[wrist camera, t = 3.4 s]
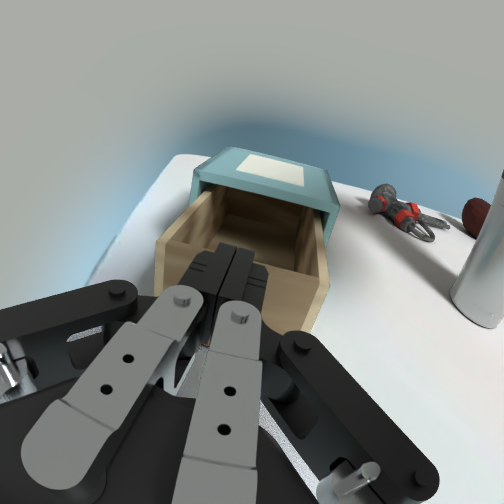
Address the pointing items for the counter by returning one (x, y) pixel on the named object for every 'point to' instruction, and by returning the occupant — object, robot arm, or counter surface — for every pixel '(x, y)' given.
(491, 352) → the counter surface
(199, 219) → the wooden drawer
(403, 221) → the valve
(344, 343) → the counter surface
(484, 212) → the potato
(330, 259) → the counter surface
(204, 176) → the sleeve
